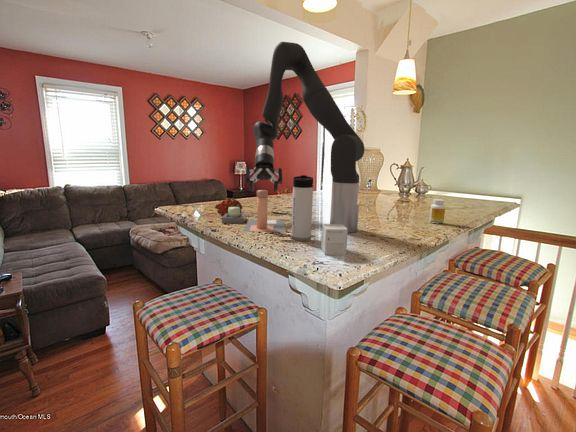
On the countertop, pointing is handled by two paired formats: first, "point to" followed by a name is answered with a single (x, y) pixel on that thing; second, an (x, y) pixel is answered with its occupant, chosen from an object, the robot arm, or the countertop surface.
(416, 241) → the countertop surface
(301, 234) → the travel mug
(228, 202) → the dragon fruit
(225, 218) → the button housing
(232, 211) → the button
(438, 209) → the supplement bottle
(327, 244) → the product box
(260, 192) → the tan tall block
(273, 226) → the board
